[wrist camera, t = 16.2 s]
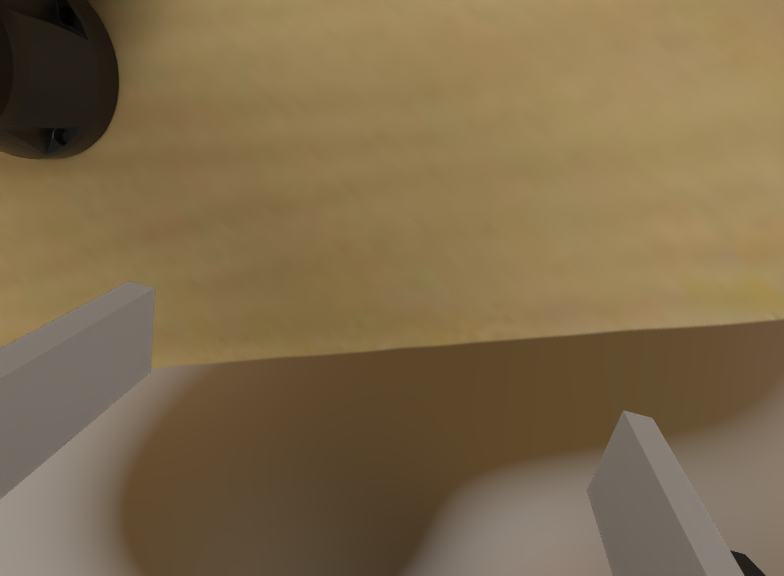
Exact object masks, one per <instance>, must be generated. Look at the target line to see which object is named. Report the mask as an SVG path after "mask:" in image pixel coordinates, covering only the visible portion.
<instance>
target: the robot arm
mask: <svg viewBox="0 0 784 576" xmlns="http://www.w3.org/2000/svg"><path fill="white" fill-rule="evenodd" d="M117 90H118V74H117V65H116V60H115V55H114V51H113V48H112V45H111V42H110V39H109V37H108V34H107V32H106V30H105V28H104V26H103V24H102V22H101V20H100V19H99V17H98V15H97V14H96V12H95V11H94V10H93V8H92V7H91V6H90V5H89V3H88V2H87V1H86V0H0V151H1V152H4V153H7V154H10V155H13V156H17V157H22V158H29V159H53V158H64V157H69V156H72V155H75V154H78V153H80V152H82V151H83V150H85V149H87V148H88V147H89V146H91V145H92V144H93V143H94V142H95V141H96V140H97V139H98V138H99V137H100V136H101V135H102V133H103V132H104V130H105V129H106V127H107V125H108V123H109V121H110V119H111V117H112V114H113V111H114V108H115V104H116V98H117ZM154 291H155V288H153V287H149V286H146V285H142V284H138V283H134V282H130V281H128V282H126V283H124V284H122V285H120V286H119V287H117V288H115V289H113V290H111V291H109V292H107V293H105V294H103V295H101V296H99V297H97V298H96V299H94V300H92V301H90V302H88V303H86V304H84V305H82V306H80V307H78V308H76V309H74V310H73V311H71V312H69V313H67V314H65V315H63V316H61V317H59V318H57V319H55V320H53V321H52V322H50V323H48V324H46V325H44V326H42V327H40V328H38V329H36V330H34V331H32V332H30V333H29V334H27V335H25V336H23V337H21V338H19V339H17V340H15V341H13V342H11V343H9V344H8V345H6V346H4V347H2V348H0V499H1V498H2V497H4V496H5V495H6V494H7V493H8V492H9V491H10V490H12V489H13V488H14V487H15V486H17V485H18V484H19V483H20V482H21V481H22V480H24V479H25V478H26V477H27V476H28V475H30V474H31V473H32V472H33V471H34V470H35V469H37V468H38V467H39V466H40V465H41V464H43V463H44V462H45V461H46V460H47V459H49V458H50V457H51V456H52V455H53V454H54V453H55V452H57V451H58V450H59V449H60V448H61V447H63V446H64V445H65V444H66V443H67V442H68V441H70V440H71V439H72V438H73V437H74V436H75V435H77V434H78V433H79V432H80V431H82V430H83V429H84V428H85V427H86V426H88V425H89V424H90V423H91V422H92V421H93V420H95V419H96V418H97V417H98V416H99V415H101V414H102V413H103V412H104V411H105V410H106V409H108V408H109V407H110V406H111V405H112V404H114V403H115V402H116V401H117V400H118V399H119V398H121V397H122V396H123V395H124V394H125V393H127V392H128V391H129V390H130V389H131V388H132V387H134V386H135V385H136V384H137V383H138V382H139V381H141V380H142V379H143V378H144V377H145V376H147V375H148V374H149V373H150V372H151V358H152V336H153V314H154ZM587 493H588V496H589V499H590V502H591V506H592V509H593V512H594V515H595V519H596V522H597V525H598V529H599V532H600V535H601V538H602V542H603V545H604V548H605V551H606V555H607V558H608V561H609V564H610V568H611V571H612V574H613V576H765V574H764V573H763V572H762V571H761V570H760V569H759V568H758V567H757V566H756V565H755V564H754V563H753V562H752V561H751V560H750V559H749V558H748V557H747V556H746V555H745V554H741V553H738V552H734V551H730V550H729V548H728V547H727V545H726V543H725V542H724V540H723V538H722V536H721V535H720V533H719V531H718V529H717V528H716V526H715V524H714V523H713V521H712V519H711V518H710V516H709V514H708V512H707V511H706V509H705V507H704V506H703V504H702V502H701V500H700V499H699V497H698V496H697V494H696V492H695V490H694V488H693V487H692V485H691V483H690V482H689V480H688V478H687V477H686V475H685V473H684V472H683V470H682V468H681V466H680V465H679V463H678V461H677V459H676V458H675V456H674V454H673V453H672V451H671V449H670V448H669V446H668V444H667V442H666V441H665V439H664V437H663V436H662V434H661V432H660V430H659V429H658V427H657V425H656V424H655V422H654V420H653V418H650V417H646V416H642V415H638V414H635V413H631V412H627V411H623V412H622V415H621V417H620V419H619V421H618V423H617V426H616V428H615V430H614V432H613V434H612V436H611V439H610V441H609V443H608V445H607V447H606V450H605V452H604V454H603V456H602V458H601V461H600V463H599V465H598V467H597V469H596V471H595V474H594V476H593V478H592V480H591V483H590V485H589V487H588V489H587Z"/></svg>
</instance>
